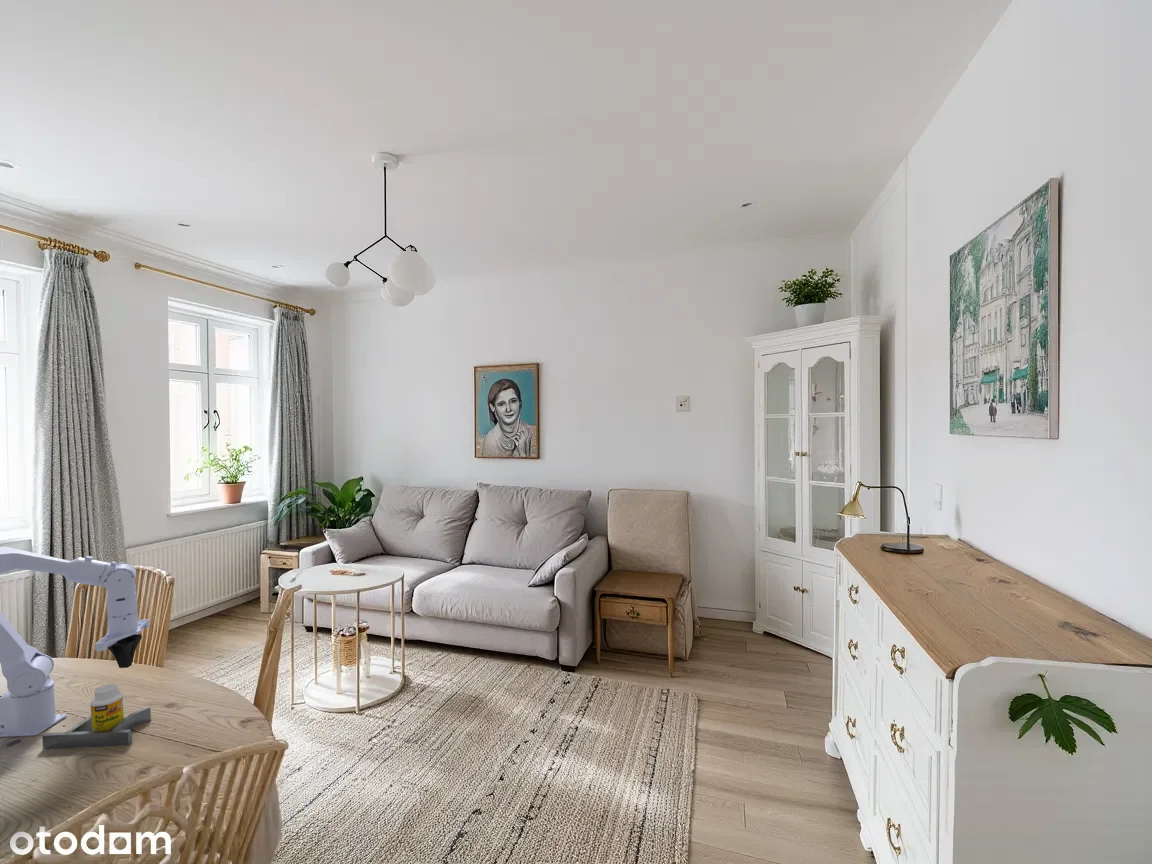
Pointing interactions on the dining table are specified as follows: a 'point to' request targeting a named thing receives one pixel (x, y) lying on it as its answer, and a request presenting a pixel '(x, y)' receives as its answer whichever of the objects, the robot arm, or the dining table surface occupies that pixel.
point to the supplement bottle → (106, 708)
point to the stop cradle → (97, 733)
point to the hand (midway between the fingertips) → (125, 666)
